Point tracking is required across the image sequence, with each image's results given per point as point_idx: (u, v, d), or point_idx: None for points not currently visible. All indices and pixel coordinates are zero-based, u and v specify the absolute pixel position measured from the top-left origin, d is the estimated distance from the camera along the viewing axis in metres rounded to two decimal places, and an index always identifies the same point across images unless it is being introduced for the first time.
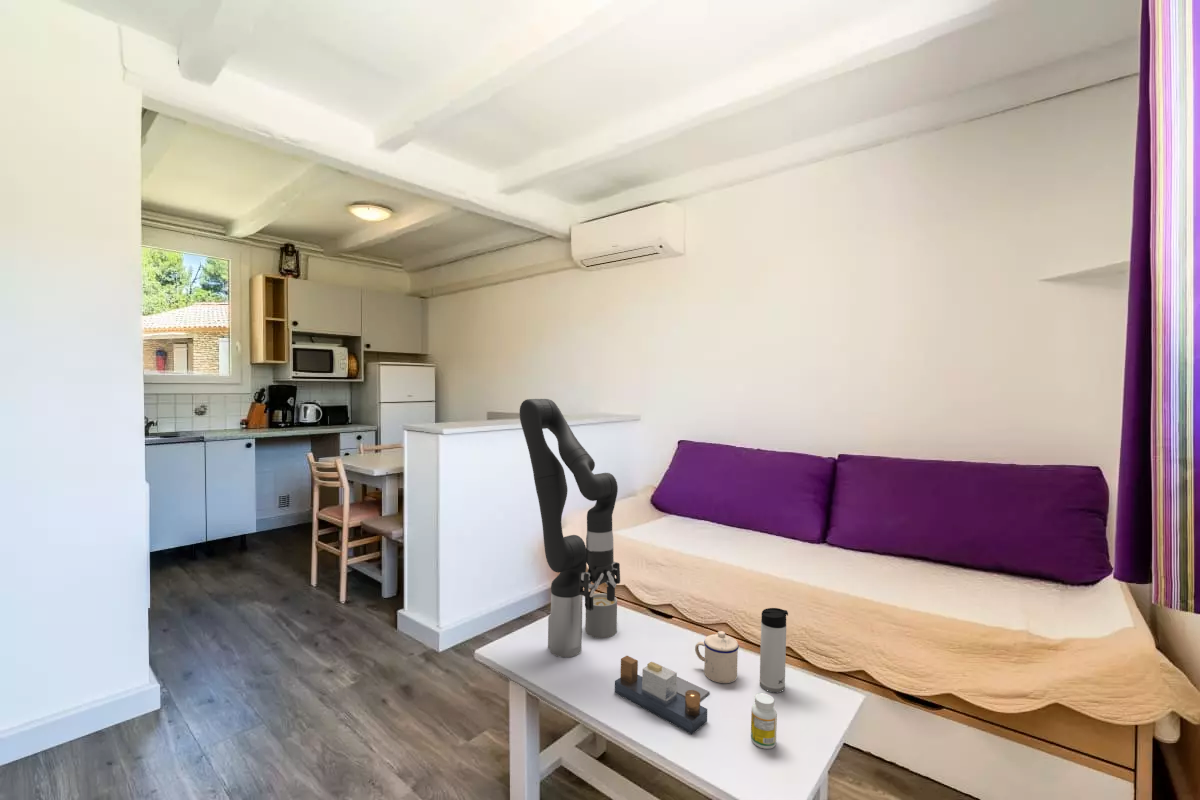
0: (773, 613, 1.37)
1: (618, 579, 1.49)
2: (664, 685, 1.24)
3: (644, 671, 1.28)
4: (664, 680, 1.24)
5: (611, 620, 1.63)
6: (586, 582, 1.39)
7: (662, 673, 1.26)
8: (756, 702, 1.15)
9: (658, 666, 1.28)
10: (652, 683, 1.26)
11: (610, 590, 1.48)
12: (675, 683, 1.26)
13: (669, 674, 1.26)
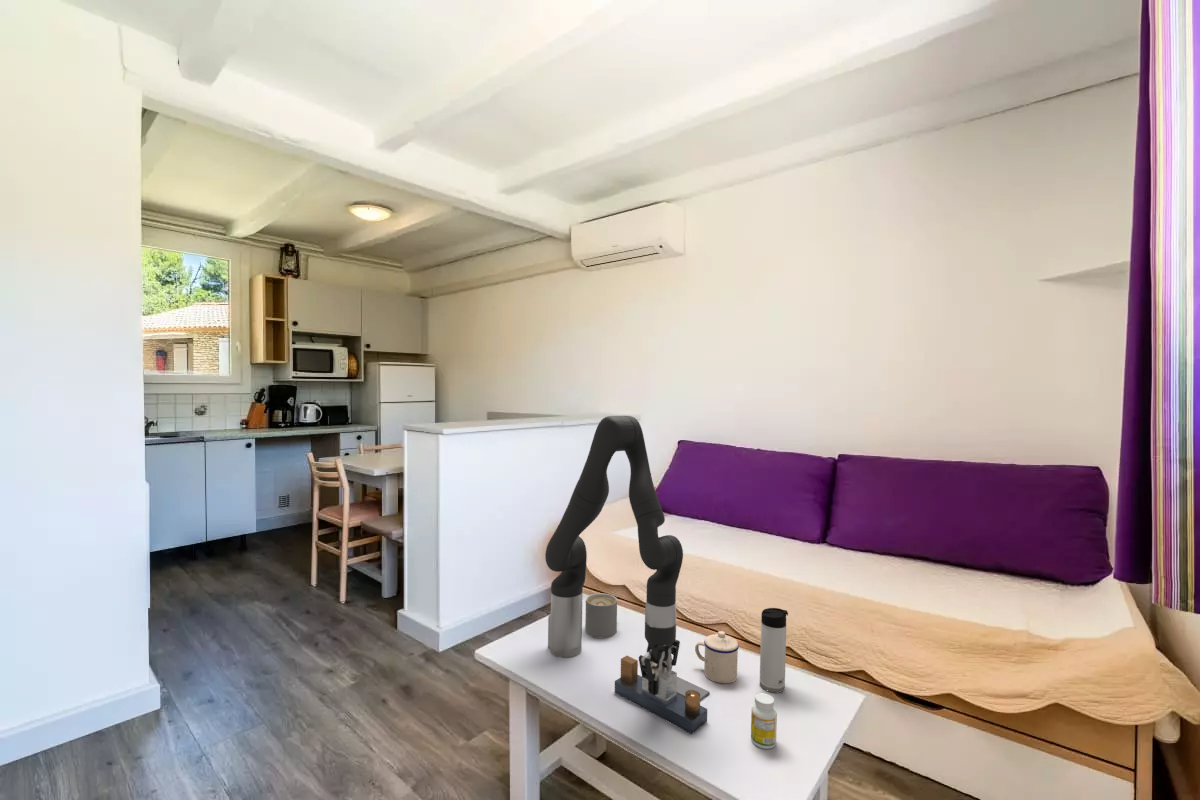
0: (773, 613, 1.37)
1: (674, 661, 1.30)
2: (664, 685, 1.24)
3: None
4: (664, 680, 1.24)
5: (611, 621, 1.63)
6: (648, 667, 1.22)
7: (662, 673, 1.26)
8: (756, 702, 1.15)
9: None
10: None
11: None
12: (675, 683, 1.26)
13: (669, 674, 1.26)
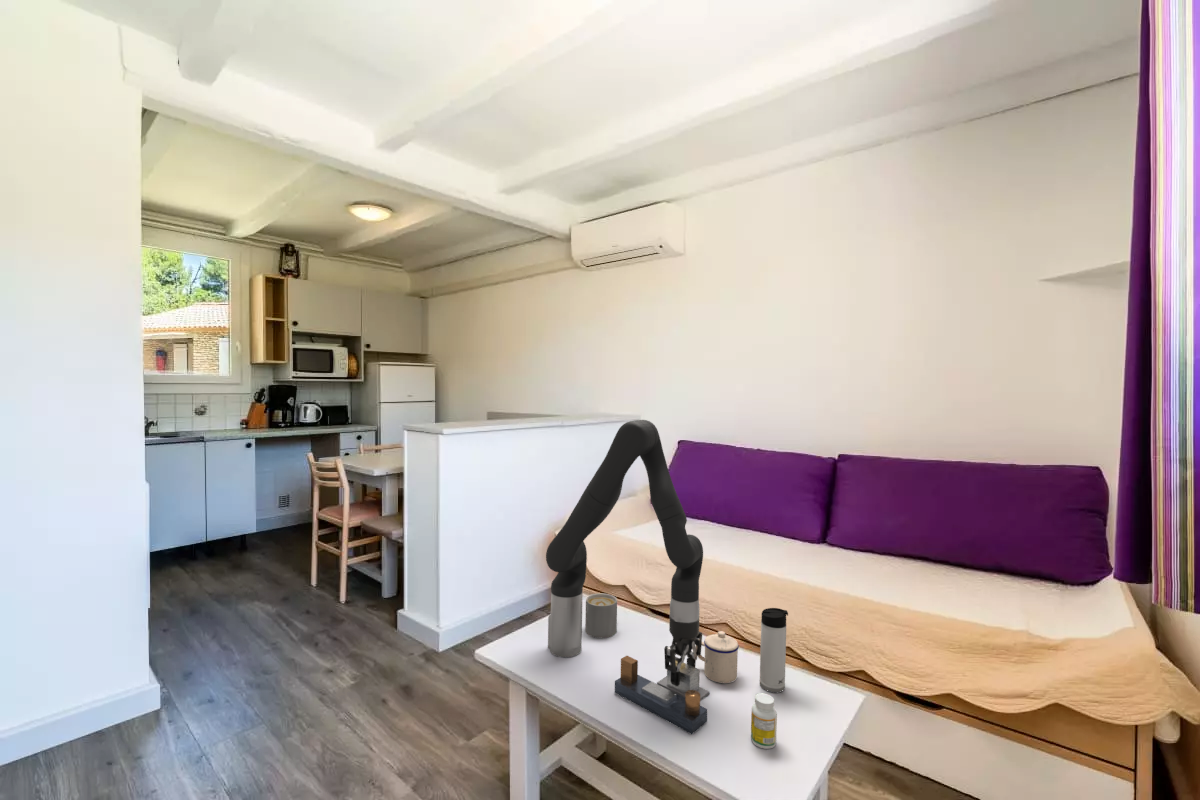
0: (773, 613, 1.37)
1: (699, 651, 1.38)
2: (688, 681, 1.31)
3: None
4: (688, 676, 1.31)
5: (611, 620, 1.63)
6: (673, 658, 1.29)
7: (686, 670, 1.34)
8: (756, 702, 1.15)
9: (682, 663, 1.35)
10: None
11: (691, 663, 1.37)
12: (698, 679, 1.34)
13: (693, 671, 1.33)
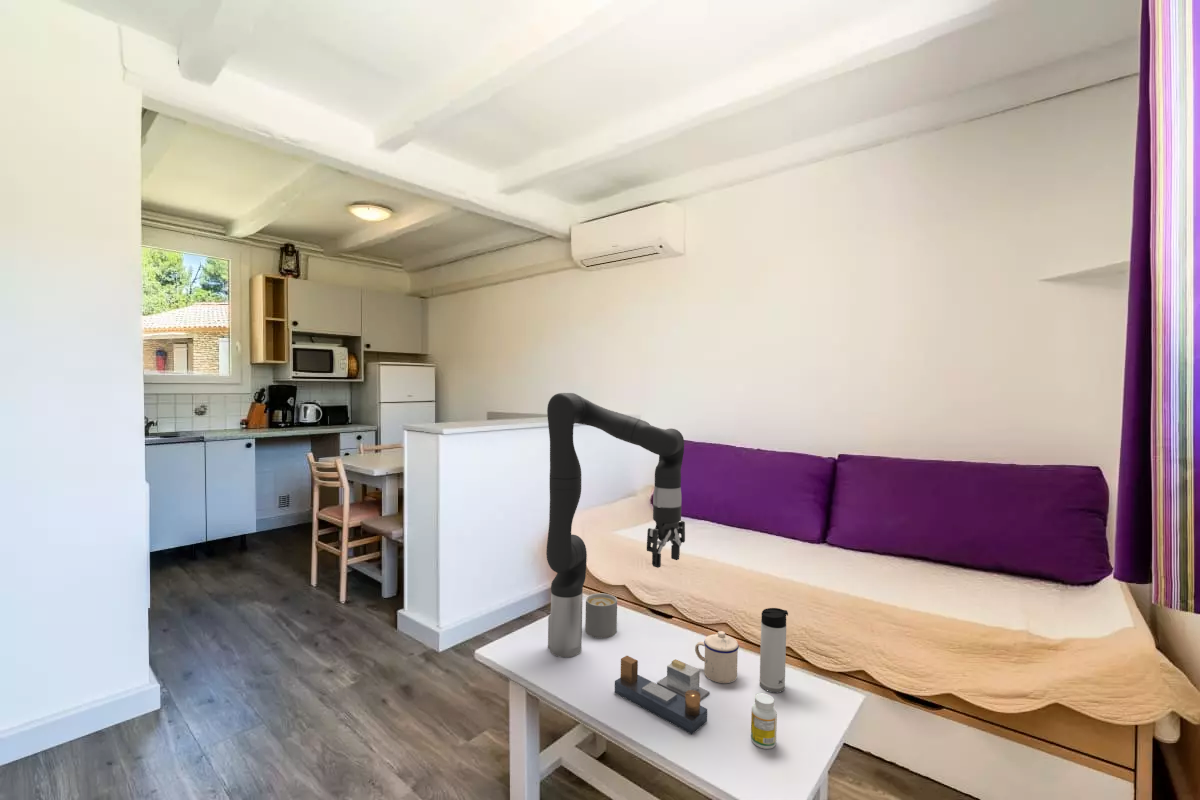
0: (773, 613, 1.37)
1: (683, 538, 1.46)
2: (688, 681, 1.31)
3: (669, 668, 1.35)
4: (688, 676, 1.31)
5: (611, 620, 1.63)
6: (655, 538, 1.36)
7: (686, 670, 1.34)
8: (756, 702, 1.15)
9: (682, 663, 1.35)
10: (676, 680, 1.34)
11: (675, 549, 1.44)
12: (698, 679, 1.34)
13: (693, 671, 1.33)
